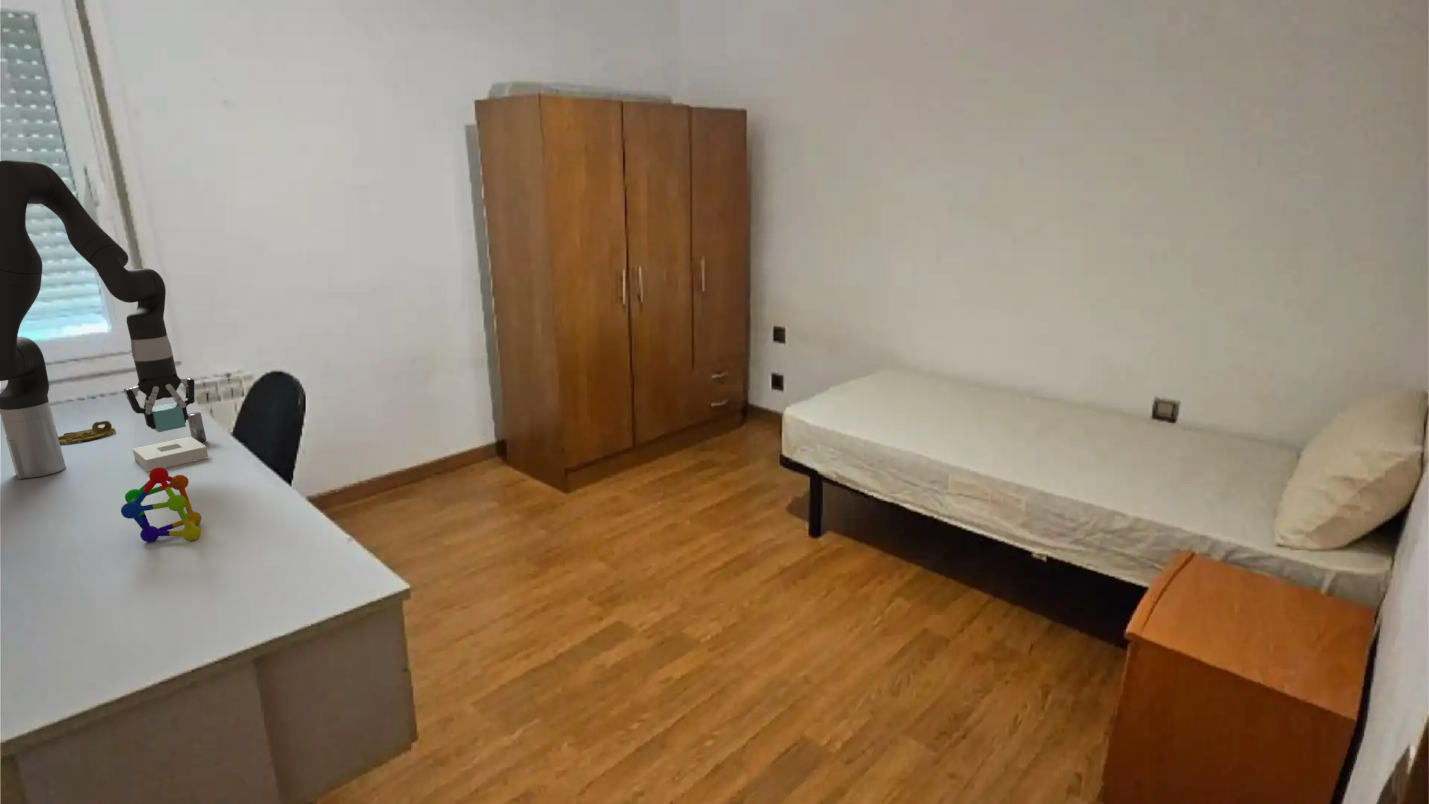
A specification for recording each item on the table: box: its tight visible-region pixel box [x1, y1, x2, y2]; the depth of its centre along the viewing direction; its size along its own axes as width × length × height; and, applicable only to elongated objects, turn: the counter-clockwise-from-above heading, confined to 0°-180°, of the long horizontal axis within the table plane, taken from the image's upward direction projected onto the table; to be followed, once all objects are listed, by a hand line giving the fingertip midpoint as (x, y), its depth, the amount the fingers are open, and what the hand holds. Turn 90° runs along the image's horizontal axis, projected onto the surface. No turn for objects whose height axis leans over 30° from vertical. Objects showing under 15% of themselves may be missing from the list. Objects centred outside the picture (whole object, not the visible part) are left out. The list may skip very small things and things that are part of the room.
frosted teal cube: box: [151, 402, 187, 433], centre depth 186 cm, size 6×6×5 cm
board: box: [132, 436, 209, 473], centre depth 200 cm, size 13×13×3 cm
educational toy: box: [120, 467, 203, 543], centre depth 153 cm, size 16×13×15 cm
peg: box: [187, 411, 207, 444], centre depth 212 cm, size 3×3×8 cm
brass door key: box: [58, 420, 117, 446], centre depth 218 cm, size 9×5×15 cm
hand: (168, 425), depth 187 cm, fingers closed on frosted teal cube, 5 cm apart
